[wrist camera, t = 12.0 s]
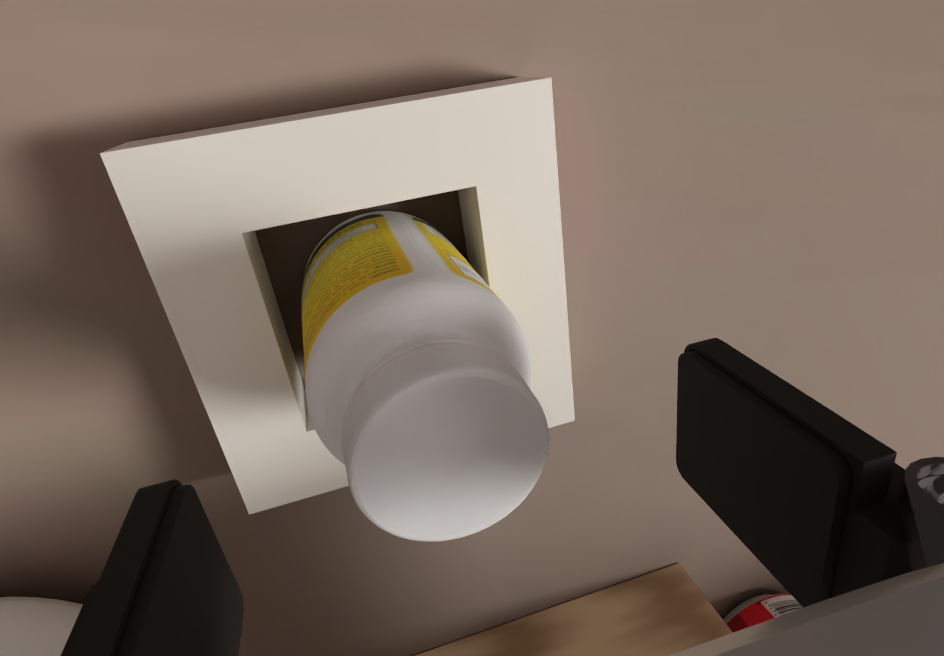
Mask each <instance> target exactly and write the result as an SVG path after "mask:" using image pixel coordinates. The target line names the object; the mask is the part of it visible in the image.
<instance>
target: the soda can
mask: <svg viewBox="0 0 944 656" xmlns="http://www.w3.org/2000/svg"><path fill="white" fill-rule="evenodd" d="M801 608H804V607H802V606H801V605H800V604H799V603H798V602H797V601H796V599H795V598H794V597H793V596H792V595H791V594H785V593H784V594H775V595H773V594H764V595H759V596H756V597H753V598H751V599H749V600H746V601H745V602H743V603H741V604H740V605H738V606H737V607H735V608H734V609H733V610H732V611H731V612H730V613H729V614H728V615H727V616H726V617H725V618H724V619H723V621H724V622H725V623H726V624H727V626H728V627H729V628H730V630H731V631H732V632H733V633H734V632H737V631H739V630H742V629H745V628H748V627H751V626H753V625H756V624H759V623H762V622H765V621H768V620H770V619H773V618H776V617H779V616H782V615H784V614H787V613H790V612H793V611H796V610H798V609H801Z"/></svg>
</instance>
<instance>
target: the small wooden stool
mask: <svg viewBox="0 0 944 656" xmlns="http://www.w3.org/2000/svg"><path fill="white" fill-rule="evenodd" d="M731 633H733V632H732V631H731V630H730V628H729V627H728V626H727V624H726V623H725V622H724V621H723V619H722V618H721V617H720V615H719V614H718V613H717V612H716V610H715V609H714V608H713V606H712V605H711V604H710V602H709V601H708V600H707V599H706V597H705V596H704V595H703V593H702V592H701V591H700V590H699V588H698V587H697V586H696V584H695V583H694V582H693V580H692V579H691V578H690V577H689V575H688V574H687V573H686V571H685V570H684V569H683V568H682V566H681V565H680V564H679V563H677V564H674V565H671V566H669V567H666V568H663V569H660V570H657V571H654V572H652V573H649V574H646V575H643V576H640V577H637V578H634V579H632V580H629V581H626V582H623V583H620V584H617V585H614V586H612V587H609V588H606V589H603V590H600V591H597V592H595V593H592V594H589V595H586V596H583V597H580V598H577V599H575V600H572V601H569V602H566V603H563V604H560V605H557V606H555V607H552V608H549V609H546V610H543V611H540V612H538V613H535V614H532V615H529V616H526V617H523V618H520V619H518V620H515V621H512V622H509V623H506V624H503V625H500V626H498V627H495V628H492V629H489V630H486V631H483V632H481V633H478V634H475V635H472V636H469V637H466V638H463V639H461V640H458V641H455V642H452V643H449V644H446V645H444V646H441V647H438V648H435V649H432V650H429V651H426V652H424V653H421V654H418V655H415V656H669V655H672V654H675V653H678V652H680V651H683V650H686V649H689V648H692V647H694V646H697V645H700V644H703V643H706V642H708V641H711V640H714V639H717V638H720V637H723V636H725V635H728V634H731Z"/></svg>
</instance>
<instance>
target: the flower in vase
mask: <svg viewBox="0 0 944 656" xmlns="http://www.w3.org/2000/svg"><path fill="white" fill-rule="evenodd" d="M82 605H83V604H79V603H74V602H69V601H64V600H57V599H48V598H39V597H0V656H61V654H62V651H63V649H64V647H65V644H66V642H67V640H68V638H69V635H70V633H71V631H72V628H73V626H74V624H75V621H76V619H77V617H78V615H79V612H80V610H81V608H82Z"/></svg>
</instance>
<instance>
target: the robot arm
mask: <svg viewBox="0 0 944 656" xmlns="http://www.w3.org/2000/svg"><path fill="white" fill-rule="evenodd" d="M896 454H897V452H895V451H894V450H892V449H891V448H889V447H888V446H886V445H884V444H883V443H881V442H880V441H878V440H877V439H875V438H873V437H872V436H870V435H869V434H867V433H866V432H864V431H863V430H861V429H859V428H858V427H856V426H855V425H853V424H852V423H850V422H848V421H847V420H845V419H844V418H842V417H841V416H839V415H838V414H836V413H834V412H833V411H831V410H830V409H828V408H827V407H825V406H823V405H822V404H820V403H819V402H817V401H816V400H814V399H813V398H811V397H809V396H808V395H806V394H805V393H803V392H802V391H800V390H798V389H797V388H795V387H794V386H792V385H791V384H789V383H788V382H786V381H784V380H783V379H781V378H780V377H778V376H777V375H775V374H773V373H772V372H770V371H769V370H767V369H766V368H764V367H762V366H761V365H759V364H758V363H756V362H755V361H753V360H752V359H750V358H748V357H747V356H745V355H744V354H742V353H741V352H739V351H737V350H736V349H734V348H733V347H731V346H730V345H728V344H727V343H725V342H723V341H722V340H720V339H718V338H712V339H708V340H704V341H700V342H696V343H693V344H689V345H688V346H686V348H685V350H684V353H683V354H681V355H680V356H679V359H678V393H677V444H676V463H677V467H678V470H679V472H680V474H681V476H682V477H683V478H684V480H685V481H686V482H687V483H688V484H689V485H690V486H691V487H692V488H693V489H694V491H695V492H696V493H697V494H698V495H699V496H700V497H701V498H702V499H703V500H704V501H705V502H706V503H707V505H708V506H709V507H710V508H711V509H712V510H713V511H714V512H715V513H716V514H717V515H718V516H719V517H720V519H721V520H722V521H723V522H724V523H725V524H726V525H727V526H728V527H729V528H730V529H731V530H732V531H733V533H734V534H735V535H736V536H737V537H738V538H739V539H740V540H741V541H742V542H743V543H744V544H745V546H746V547H747V548H748V549H749V550H750V551H751V552H752V553H753V554H754V555H755V556H756V557H757V558H758V560H759V561H760V562H761V563H762V564H763V565H764V566H765V567H766V568H767V569H768V570H769V571H770V572H771V574H772V575H773V576H774V577H775V578H776V579H777V580H778V581H779V582H780V583H781V584H782V585H783V587H784V588H785V589H786V590H787V591H788V592H789V593H790V594H791V595H792V596H793V597H794V598H795V599H796V601H797V602H798V603H799V604H800V605H801V606H802V607H804V608H801V609H798V610H796V611H793V612H790V613H787V614H784V615H782V616H779V617H776V618H773V619H770V620H768V621H765V622H762V623H759V624H756V625H753V626H751V627H748V628H745V629H742V630H739V631H737V632H734V633H731V634H728V635H725V636H723V637H720V638H717V639H714V640H711V641H708V642H706V643H703V644H700V645H697V646H694V647H692V648H689V649H686V650H683V651H680V652H678V653H675V654H672V655H669V656H944V457H930V458H922V459H919V460H917V461H915V462H912V463H910V465H909V466H908V467H907V468H906V469H903V468H902V467H900V466H899V465H897V464H896V463H895V458H896ZM243 610H244V609H243V599H242V594H241V591H240V589H239V587H238V584H237V582H236V580H235V578H234V576H233V573H232V571H231V569H230V567H229V564H228V562H227V560H226V558H225V556H224V553H223V551H222V549H221V547H220V545H219V542H218V540H217V538H216V536H215V533H214V531H213V529H212V527H211V525H210V522H209V520H208V518H207V516H206V514H205V511H204V509H203V507H202V505H201V503H200V500H199V498H198V496H197V494H196V491H195V490H194V488H193V487H192V486H191V485H189V484H188V485H184V486H182V485H181V483H180V482H179V481H178V480H175V479H174V480H170V481H166V482H163V483H159V484H155V485H151V486H147V487H144V488H141V489H139V490H138V491H137V493H136V495H135V497H134V499H133V502H132V504H131V506H130V509H129V511H128V513H127V516H126V518H125V520H124V523H123V525H122V528H121V530H120V532H119V535H118V537H117V539H116V542H115V544H114V546H113V549H112V551H111V553H110V556H109V558H108V560H107V563H106V565H105V567H104V570H103V572H102V575H101V577H100V579H99V581H98V582H97V583H96V584H94V585H93V586H92V588H91V589H90V591H89V593H88V594H87V596H86V599H85V601H84V603H83V605H82V608H81V610H80V612H79V615H78V617H77V619H76V621H75V624H74V626H73V628H72V631H71V633H70V635H69V638H68V640H67V642H66V644H65V647H64V649H63V651H62V654H61V656H238V651H239V643H240V636H241V628H242V620H243Z"/></svg>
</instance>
